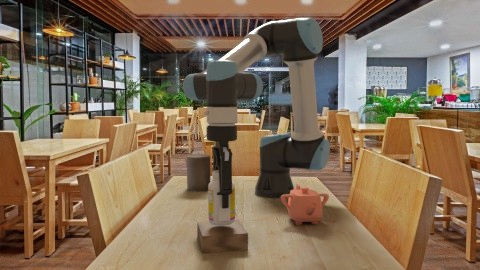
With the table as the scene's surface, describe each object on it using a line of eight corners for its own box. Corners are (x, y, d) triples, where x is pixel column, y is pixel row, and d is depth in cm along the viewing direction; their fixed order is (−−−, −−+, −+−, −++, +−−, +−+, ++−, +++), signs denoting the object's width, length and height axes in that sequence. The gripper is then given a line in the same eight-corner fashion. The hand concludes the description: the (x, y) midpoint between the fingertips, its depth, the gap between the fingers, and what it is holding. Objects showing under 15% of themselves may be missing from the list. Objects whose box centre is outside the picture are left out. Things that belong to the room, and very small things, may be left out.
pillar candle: (215, 188, 163) (215, 151, 162) (200, 192, 155) (200, 154, 154) (196, 185, 168) (196, 150, 167) (181, 189, 160) (181, 152, 159)
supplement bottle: (239, 220, 101) (239, 170, 100) (227, 227, 95) (227, 174, 94) (216, 216, 104) (216, 168, 103) (203, 223, 98) (203, 172, 97)
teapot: (335, 221, 118) (336, 188, 117) (313, 231, 109) (314, 195, 109) (296, 212, 128) (297, 181, 127) (273, 220, 119) (273, 187, 118)
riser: (238, 234, 106) (238, 219, 106) (248, 249, 96) (248, 233, 95) (197, 237, 104) (197, 222, 104) (202, 252, 93) (202, 236, 93)
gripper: (201, 122, 106) (202, 206, 108) (212, 127, 87) (212, 229, 89) (229, 122, 108) (229, 205, 110) (245, 127, 89) (245, 227, 90)
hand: (221, 216), depth 99 cm, fingers closed on supplement bottle, 7 cm apart
